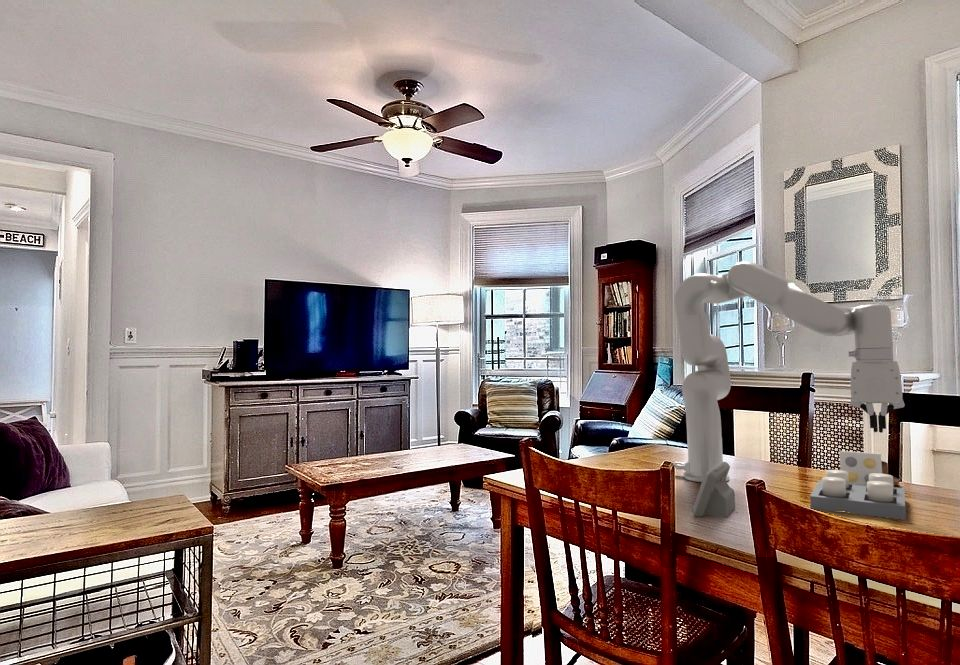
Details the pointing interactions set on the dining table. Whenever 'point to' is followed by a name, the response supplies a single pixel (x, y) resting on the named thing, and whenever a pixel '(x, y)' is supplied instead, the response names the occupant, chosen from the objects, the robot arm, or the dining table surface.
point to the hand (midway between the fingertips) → (878, 431)
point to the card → (860, 465)
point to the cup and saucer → (885, 471)
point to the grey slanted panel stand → (715, 493)
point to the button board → (860, 502)
